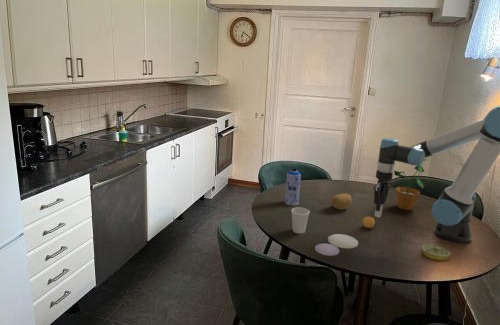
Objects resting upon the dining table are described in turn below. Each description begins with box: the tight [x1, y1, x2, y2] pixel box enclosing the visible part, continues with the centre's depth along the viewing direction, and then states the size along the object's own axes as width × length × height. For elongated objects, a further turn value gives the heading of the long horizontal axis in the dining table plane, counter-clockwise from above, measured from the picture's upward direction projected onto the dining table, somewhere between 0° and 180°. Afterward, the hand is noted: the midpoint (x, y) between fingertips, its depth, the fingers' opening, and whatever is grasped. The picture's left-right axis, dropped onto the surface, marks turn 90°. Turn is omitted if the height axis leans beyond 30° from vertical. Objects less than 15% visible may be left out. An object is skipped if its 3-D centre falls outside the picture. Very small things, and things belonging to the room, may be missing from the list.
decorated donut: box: [421, 243, 451, 262], centre depth 153 cm, size 10×11×4 cm
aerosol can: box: [284, 167, 302, 206], centre depth 202 cm, size 8×8×20 cm
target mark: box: [327, 233, 359, 249], centre depth 162 cm, size 13×13×1 cm
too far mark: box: [314, 243, 340, 257], centre depth 154 cm, size 10×10×1 cm
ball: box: [362, 216, 376, 229], centre depth 177 cm, size 6×6×6 cm
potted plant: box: [393, 158, 428, 211], centre depth 201 cm, size 18×19×30 cm
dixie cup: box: [290, 206, 311, 235], centre depth 169 cm, size 8×8×10 cm
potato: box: [330, 193, 353, 210], centre depth 199 cm, size 10×14×8 cm
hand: (377, 216), depth 183 cm, fingers closed
